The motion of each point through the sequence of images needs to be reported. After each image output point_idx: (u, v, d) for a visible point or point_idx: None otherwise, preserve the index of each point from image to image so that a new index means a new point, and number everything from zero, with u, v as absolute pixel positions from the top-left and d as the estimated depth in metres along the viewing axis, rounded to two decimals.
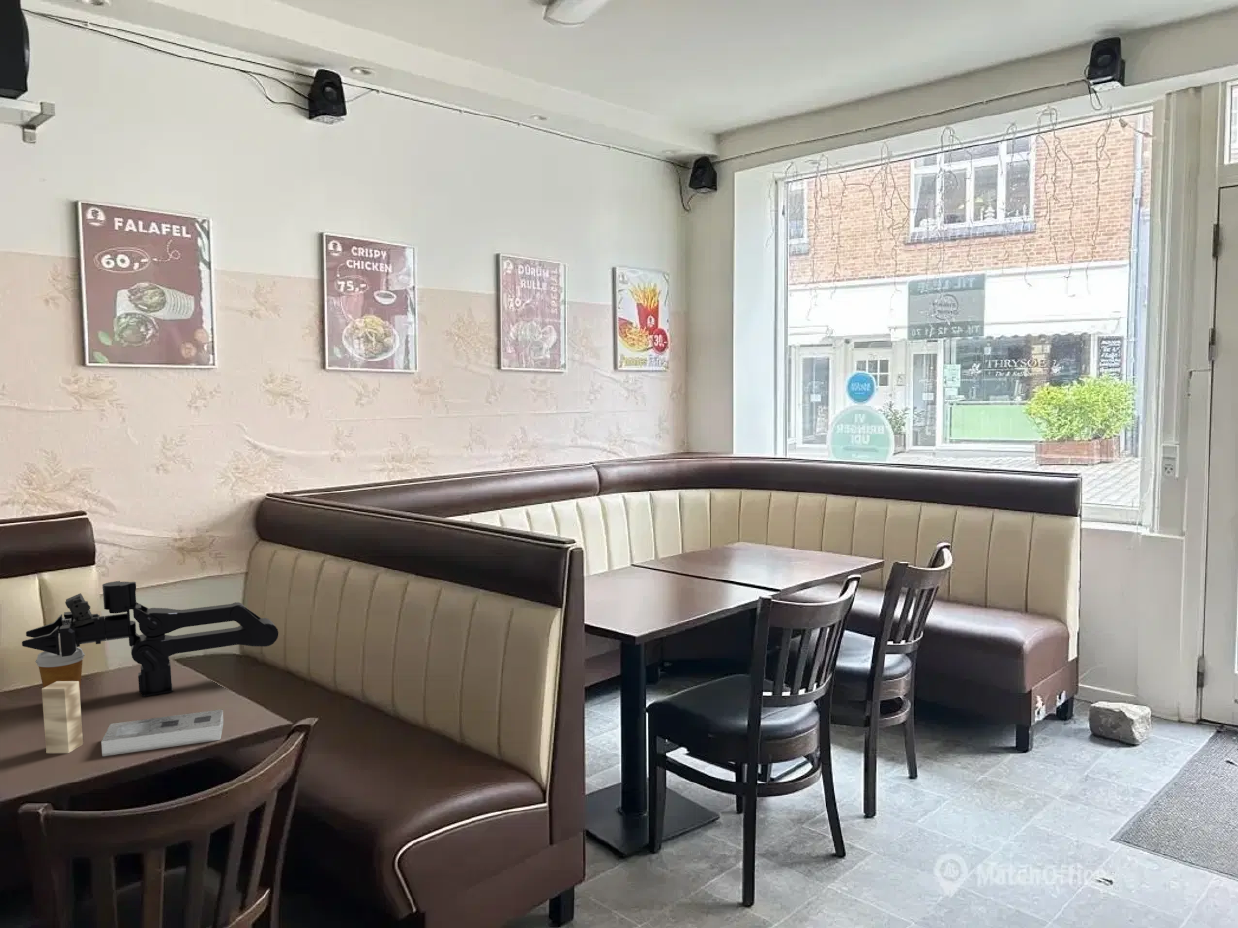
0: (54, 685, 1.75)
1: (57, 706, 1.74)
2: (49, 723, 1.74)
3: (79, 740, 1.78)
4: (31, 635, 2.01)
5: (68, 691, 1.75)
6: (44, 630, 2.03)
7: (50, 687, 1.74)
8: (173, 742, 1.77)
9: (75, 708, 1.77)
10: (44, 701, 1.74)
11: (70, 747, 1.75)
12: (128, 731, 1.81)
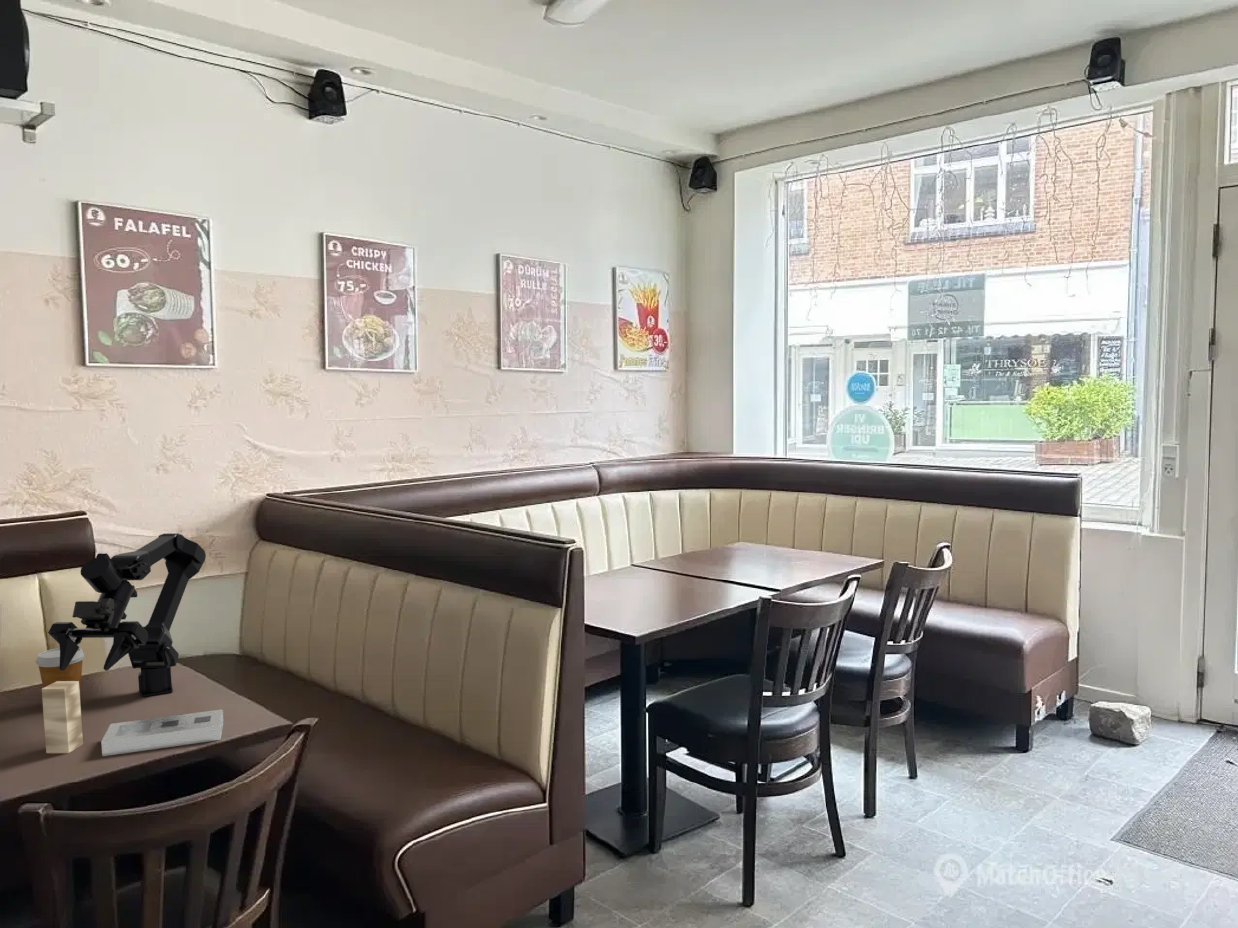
0: (54, 685, 1.75)
1: (57, 706, 1.74)
2: (49, 723, 1.74)
3: (79, 740, 1.78)
4: (65, 666, 1.84)
5: (68, 691, 1.75)
6: (66, 654, 1.85)
7: (50, 687, 1.74)
8: (173, 742, 1.77)
9: (75, 708, 1.77)
10: (44, 701, 1.74)
11: (70, 747, 1.75)
12: (128, 731, 1.81)
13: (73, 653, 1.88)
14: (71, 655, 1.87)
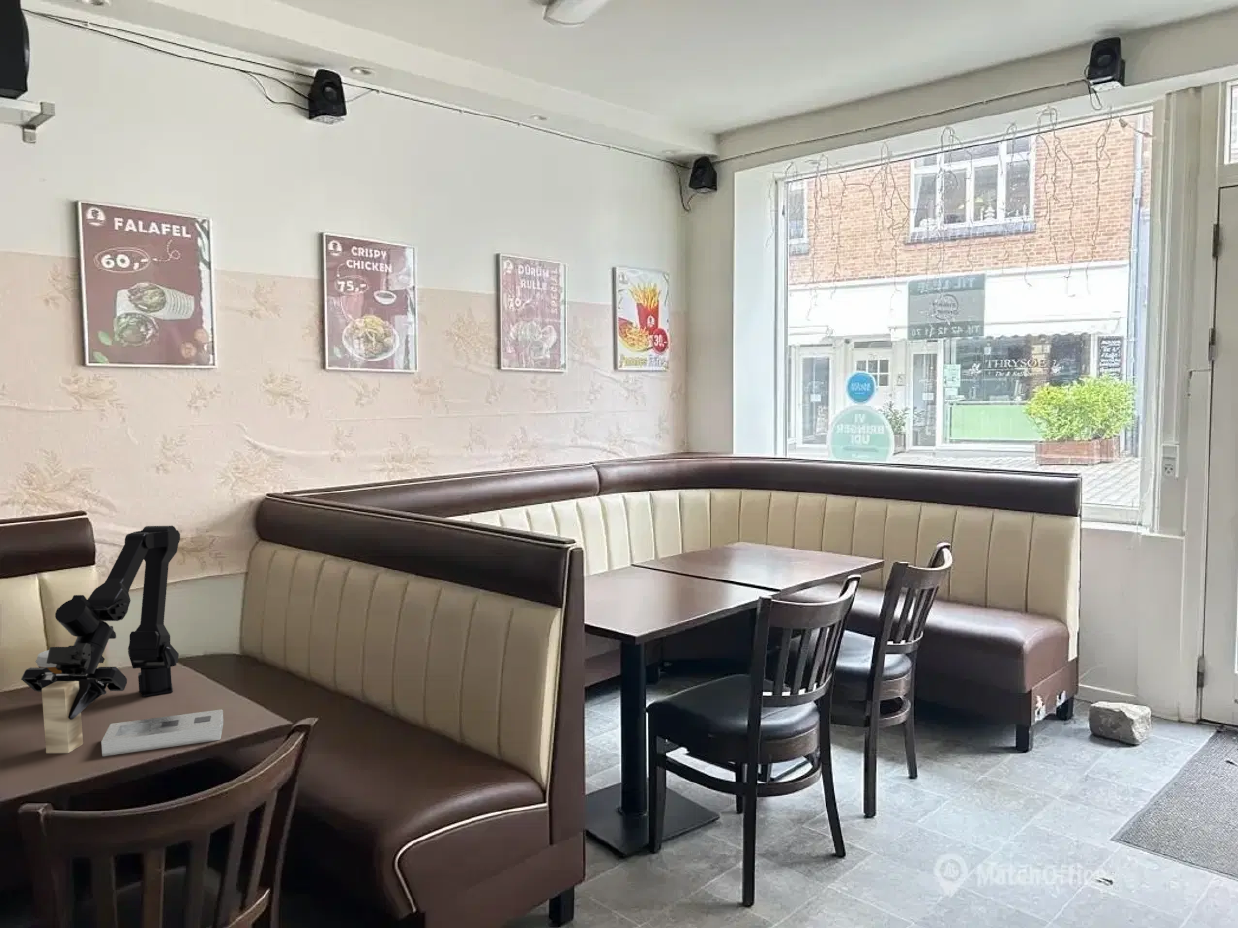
0: (54, 685, 1.75)
1: (57, 706, 1.74)
2: (49, 722, 1.74)
3: (79, 740, 1.78)
4: None
5: (68, 691, 1.75)
6: None
7: (50, 687, 1.74)
8: (173, 742, 1.77)
9: None
10: (44, 701, 1.74)
11: (70, 747, 1.75)
12: (128, 731, 1.81)
13: None
14: None
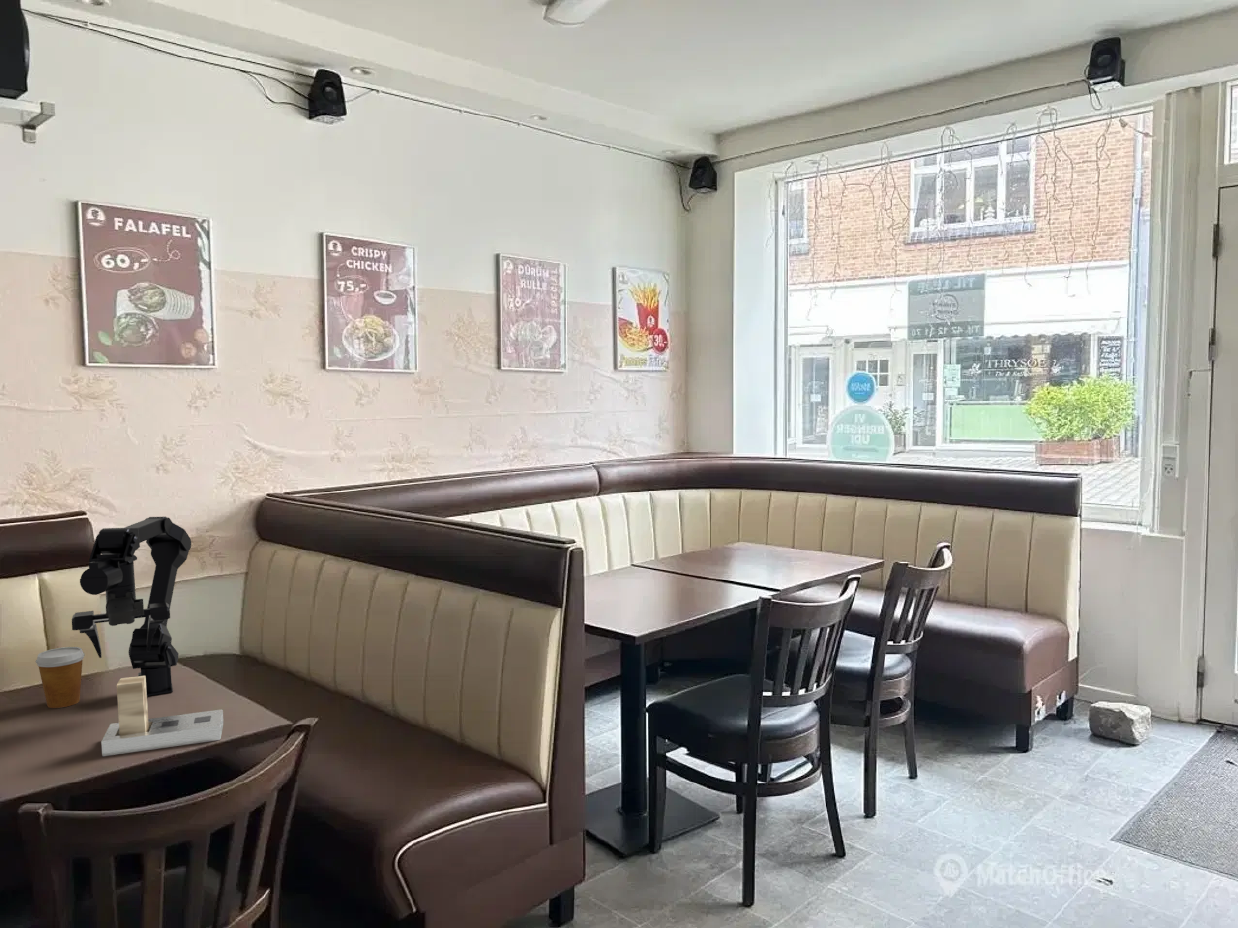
0: (125, 681, 1.77)
1: (133, 700, 1.76)
2: (124, 718, 1.76)
3: None
4: None
5: (143, 685, 1.78)
6: None
7: (124, 683, 1.76)
8: (173, 742, 1.77)
9: (145, 702, 1.80)
10: (119, 697, 1.75)
11: None
12: None
13: None
14: (98, 638, 1.95)
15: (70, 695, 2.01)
